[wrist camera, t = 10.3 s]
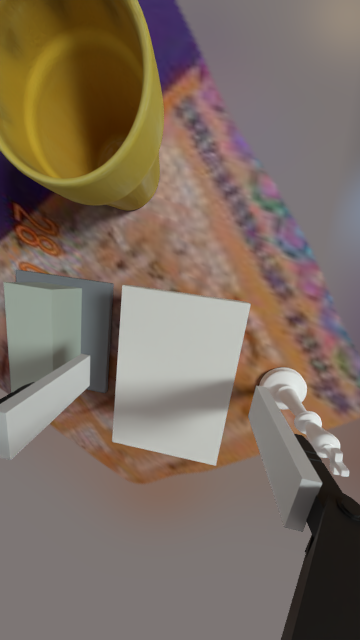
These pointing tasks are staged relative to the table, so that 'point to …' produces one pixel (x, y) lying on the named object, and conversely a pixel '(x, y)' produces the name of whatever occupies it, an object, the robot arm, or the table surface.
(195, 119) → the table surface
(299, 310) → the table surface
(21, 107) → the plant pot
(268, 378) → the chess piece
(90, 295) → the stand
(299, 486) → the robot arm
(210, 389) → the board
